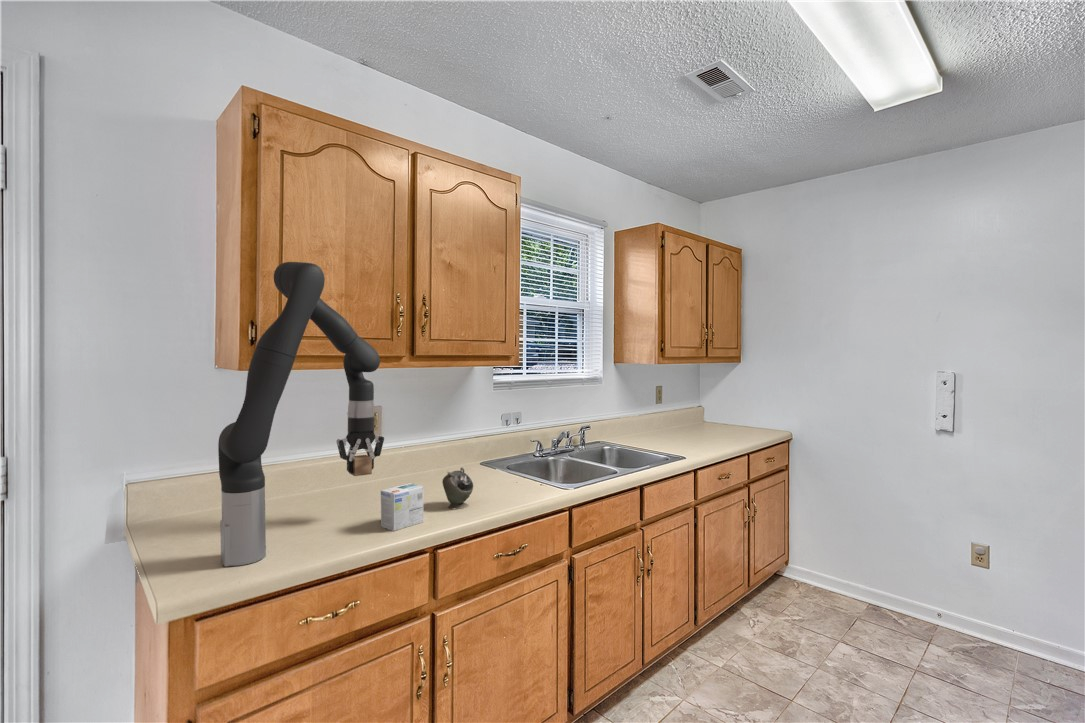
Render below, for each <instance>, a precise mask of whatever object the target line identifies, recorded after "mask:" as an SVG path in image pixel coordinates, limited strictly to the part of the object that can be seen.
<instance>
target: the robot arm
mask: <svg viewBox="0 0 1085 723" xmlns="http://www.w3.org/2000/svg"><path fill="white" fill-rule="evenodd" d="M273 272H274V273H273V282H274V286H275V287H276V289H277V290H278V291H279V293H281V294H282V295H283V296H284V297H285V298H286V303H285V305H284V307H283V310H282V311H281V312H280V315H278V317H277V318H276V319H275V320H274V321H273V322H272V324H271V325H270V326H269V327H268V328H267V329H266V330H265V331H264V332H263V334H262V335H261V337H260V338H259V339H258V341H257V343H256V344H255V345H256V346H255V348H254V351H253V353H252V357H251V360H250V362H249V366H248V369H247V370H248V371H247V377H246V387H245V394H244V395H245V396H244V400H243V404H242V406H241V409H240V411H239V414H238V416H237V418H236V420H235V422H232V423H229V424H228V425H227V426H225V427H224V428H223V429H222V431H220V432H221V433H220V434H219V437H218V442H217V444H218V445H217V446H218V447H217V448H218V449H217V451H218V454H217V455H218V475H219V480H220V485H221V487H220V489H221V519H220V521H219V522H220V523H219V524H220V559H221V560H220V561H221V562H222V565H223V567H233V566H234V567H236V566H244V565H248V564H250V565H251V564H252V563H256V562H258V561H260V560H263V559H264V558H265V557H266V555H267V546H266V545H267V542H266V541H267V539H266V537H267V536H266V535H267V534H266V476H265V473H264V470H263V465H262V455H263V454H264V452H265V451H266V449H267V448H268V443H269V439H270V436H271V430H272V426H273V422H274V418H275V414H276V410H277V408H278V404H279V403H280V400H281V397H282V396H283V392H284V390H285V388H286V384H287V382H288V379H289V376H290V374H291V371H292V369H293V365H294V363H295V361H296V357H297V353H298V350H299V348H300V345H301V343H302V340H303V337H304V334H305V332H306V330H307V326H308V324H309V321H310V320H311V321H312V323H313V324H315V325H316V327H318V328H319V330H320V331H321V332H322V333H323V335H325V337H326V338H327V339H328V340H329V341H330V343H331V345H333V346H334V348H335V349H336V350H337V351H339V352H340V353H341V354H344V356H343V369H344V373H345V376H346V377H345V378H346V380H347V383H348V384H347V385H348V405H347V412H346V414H347V435H346V436H345V438H342V439H340V438H338V439H337V440H336V445H337V450H338V453H339V457H340V459H342V460H344V461H346V471H347V472H348V474H350V475H352V474H353V459H354V456H356V455H357V452H358V451H360V450H365V452H366V455H367V456H370V457H372V470H374V468H375V467H374V466H375V458H376V457H381V454H382V448H383V446H384V442H385V437H384V436H382V435H376V434H375V402H374V400H375V399H374V396H375V395H374V393H375V392H374V391H375V388H374V386H375V385H374V383H373V381H371V380H368V379H366V378H365V376H364V373H372V372H375V371H376V370H378V369H379V367H380V364H381V358H380V355H379V353H378V351H377V350H376V348H374V347H373V346H372V345H371V344H369V342H367V341H366V340H365V339H364V338H362V337H361V336H359V335H358V334H357V333H358V332H356V331H355V330H354V328H353V326H352V325H351V324H350V323H349V322H348V321H347V320H346V319H345V317H344V316H342V315H341V314H340V313H339V312H337V311H336V310H335V309H334V308H332V307H331V306H330V305H328V304H327V303H326V302H325V301H324V300H323V299H322V298H321V296H322V293H323V290H324V288H325V282H326V281H325V274H324V271H323V270H322V268H321V267H320V266H319V265H317V264H315V263H312V262H302V261H299V262H298V261H287V262H283V263H281V264H279V265H277V267H276V268H275V270H274V271H273ZM374 441H375V442H374ZM373 442H374V443H375V446H374V449H373V446H372V444H373ZM347 443H348V445H349V448H348V451H347V452H348V453H347V452H346V446H347Z"/></svg>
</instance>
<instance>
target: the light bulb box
mask: <svg viewBox="0 0 1085 723" xmlns="http://www.w3.org/2000/svg"><path fill="white" fill-rule="evenodd" d="M380 522H381V523H380V526H382V527H381V528H384V529H386V528H387V530H388V531H391V530H392V532H396V531H398V530H402V529H405V528H408V527H412V526H414V525H418V524H421V523H424V486H423V485H419V484H415V483H411V482H409V483H406V484H402V485H397V486H393V487H389V488H386V489H381V490H380Z"/></svg>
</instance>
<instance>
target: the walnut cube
mask: <svg viewBox="0 0 1085 723" xmlns="http://www.w3.org/2000/svg"><path fill="white" fill-rule="evenodd" d="M372 471H373V469H372V457H370V456H368V455H367V454H362V455H360V454H359V455H355V456H354V459H353V474H351V475H352V476H353V477H360V476H367V475H372V474H373V473H372Z"/></svg>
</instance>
